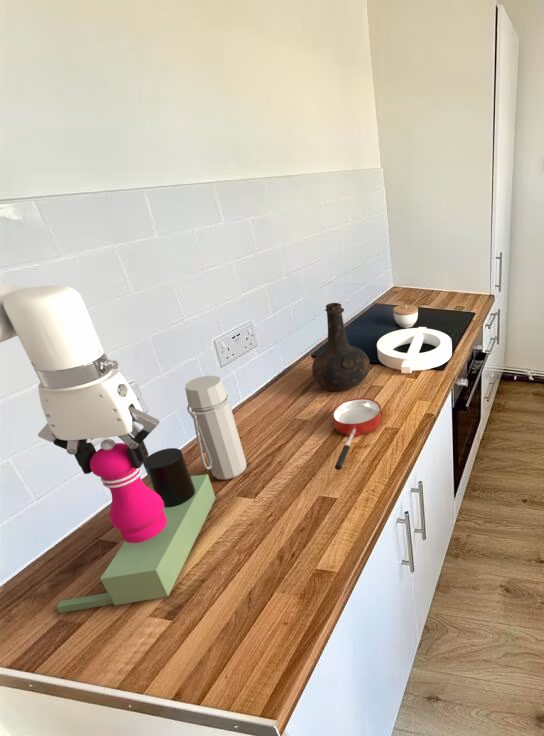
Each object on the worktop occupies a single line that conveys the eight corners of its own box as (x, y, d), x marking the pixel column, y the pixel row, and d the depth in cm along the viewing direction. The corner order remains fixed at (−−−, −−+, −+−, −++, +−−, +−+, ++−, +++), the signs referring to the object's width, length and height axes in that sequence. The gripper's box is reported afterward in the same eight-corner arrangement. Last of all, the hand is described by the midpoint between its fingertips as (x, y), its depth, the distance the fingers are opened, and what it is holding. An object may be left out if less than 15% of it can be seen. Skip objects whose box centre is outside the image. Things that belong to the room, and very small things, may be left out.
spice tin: (153, 509, 85) (136, 470, 80) (167, 487, 90) (152, 449, 86) (188, 505, 86) (173, 466, 82) (200, 484, 91) (186, 446, 87)
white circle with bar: (405, 378, 149) (404, 366, 147) (363, 351, 166) (362, 340, 164) (466, 355, 168) (466, 344, 166) (423, 333, 185) (423, 322, 183)
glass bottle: (326, 404, 133) (313, 320, 121) (307, 380, 145) (292, 301, 133) (380, 386, 144) (373, 307, 132) (358, 366, 156) (349, 292, 143)
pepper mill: (109, 540, 75) (62, 449, 67) (149, 510, 82) (111, 423, 73) (142, 550, 74) (99, 458, 65) (180, 518, 80) (146, 431, 72)
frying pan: (380, 480, 105) (378, 460, 102) (322, 488, 102) (319, 467, 99) (382, 408, 132) (380, 390, 130) (337, 412, 129) (334, 394, 126)
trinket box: (405, 318, 199) (404, 299, 195) (423, 324, 194) (422, 304, 190) (388, 325, 190) (387, 305, 186) (407, 331, 186) (406, 311, 181)
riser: (58, 615, 73) (40, 588, 69) (132, 508, 93) (121, 484, 90) (168, 596, 76) (156, 570, 73) (215, 498, 97) (207, 474, 94)
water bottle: (229, 458, 109) (203, 372, 98) (255, 465, 107) (232, 378, 96) (197, 483, 101) (165, 392, 90) (224, 490, 99) (195, 398, 88)
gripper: (155, 355, 69) (186, 445, 77) (21, 362, 65) (68, 457, 73) (130, 378, 62) (167, 474, 70) (-21, 388, 58) (37, 488, 66)
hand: (117, 464), depth 71 cm, fingers closed on pepper mill, 6 cm apart
